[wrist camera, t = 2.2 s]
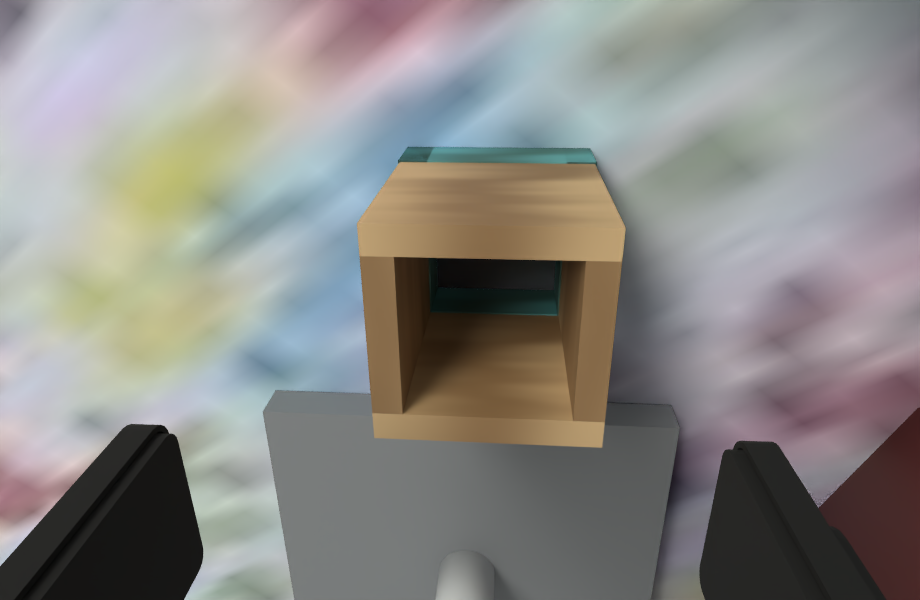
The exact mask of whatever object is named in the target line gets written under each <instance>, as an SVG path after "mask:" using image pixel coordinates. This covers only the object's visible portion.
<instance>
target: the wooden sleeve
mask: <svg viewBox="0 0 920 600" xmlns="http://www.w3.org/2000/svg"><path fill="white" fill-rule="evenodd" d="M596 165H597V162H596V160H595V158H594V156H593V154H592V152H591V150H590V148H473V147H408V148H407V149H406V150H405V152H404V153H403V155H402V156H401V157H400V159H399V160H398V166H397V167H396V168H395V170H394V171H393V173H392V174H391V175H390V177H389V178H388V180H387V181H386V183H385V184H384V185H383V187H382V188H381V190H380V191H379V193H378V194H377V195H376V197H375V198H374V200H373V201H372V203H371V204H370V205H369V207H368V208H367V210H366V211H365V213H364V214H363V215H362V217H361V218H360V220H359V221H358V223H357V230H358V242H359V255H360V267H361V279H362V292H363V304H364V317H365V329H366V341H367V354H368V366H369V379H370V391H371V404H372V416H373V428H374V438H385V439H408V440H432V441H456V442H479V443H503V444H527V445H550V446H574V447H598V448H602V443H603V434H604V425H605V415H606V406H607V397H608V388H609V378H610V369H611V360H612V351H613V341H614V332H615V323H616V313H617V304H618V295H619V286H620V276H621V267H622V258H623V248H624V239H625V230H626V227H625V225H624V223H623V221H622V219H621V217H620V215H619V213H618V211H617V209H616V207H615V205H614V203H613V200H612V198H611V196H610V194H609V192H608V190H607V188H606V186H605V184H604V182H603V180H602V178H601V176H600V174H599V171H598V169H597V167H596ZM437 258H469V259H516V260H556V264H555V281H554V290H523V289H482V288H441V287H438V275H437Z"/></svg>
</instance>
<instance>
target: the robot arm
mask: <svg viewBox="0 0 920 600" xmlns="http://www.w3.org/2000/svg"><path fill="white" fill-rule="evenodd" d="M202 560H203V545H202V541H201V537H200V533H199V528H198V524H197V520H196V516H195V511H194V507H193V503H192V499H191V494H190V490H189V486H188V482H187V478H186V473H185V469H184V465H183V461H182V456H181V452H180V448H179V444H178V440H177V437H176V436H175V435H174V434H169V432H168V430H167V429H166V427H165V426H162V425H143V424H130V425H127V426H126V427H124V428H123V429H122V430H121V431H120V432H119V433H118V435H117V436H116V437H115V438H114V439H113V440H112V441H111V442H110V444H109V445H108V446H107V447H106V448H105V449H104V450H103V451H102V453H101V454H100V455H99V456H98V457H97V458H96V459H95V460H94V462H93V463H92V464H91V465H90V466H89V467H88V468H87V469H86V471H85V472H84V473H83V474H82V475H81V476H80V477H79V478H78V480H77V481H76V482H75V483H74V484H73V485H72V486H71V487H70V489H69V490H68V491H67V492H66V493H65V494H64V495H63V496H62V498H61V499H60V500H59V501H58V502H57V503H56V504H55V505H54V507H53V508H52V509H51V510H50V511H49V512H48V513H47V514H46V516H45V517H44V518H43V519H42V520H41V521H40V522H39V523H38V525H37V526H36V527H35V528H34V529H33V530H32V531H31V532H30V534H29V535H28V536H27V537H26V538H25V539H24V540H23V541H22V543H21V544H20V545H19V546H18V547H17V548H16V549H15V550H14V552H13V553H12V554H11V555H10V556H9V557H8V558H7V559H6V561H5V562H4V563H3V564H2V565H1V566H0V600H184V598H185V597H186V595H187V593H188V591H189V589H190V587H191V585H192V583H193V581H194V580H195V578H196V576H197V574H198V572H199V570H200V567H201V564H202ZM700 584H701V588H702V592H703V595H704V598H705V600H886V598H885V597H884V595H883V594H882V592H881V590H880V589H879V587H878V586H877V584H876V583H875V581H874V580H873V578H872V577H871V575H870V574H869V572H868V571H867V569H866V567H865V566H864V564H863V563H862V561H861V560H860V558H859V557H858V555H857V554H856V552H855V551H854V549H853V548H852V546H851V544H850V543H849V541H848V540H847V538H846V537H845V536H844V535H843V534H842V532H841V531H840V530H838V529H837V528H835V527H833V526H829V524H828V523H827V521H826V520H825V518H824V517H823V515H822V513H821V512H820V510H819V509H818V507H817V506H816V504H815V502H814V501H813V499H812V498H811V496H810V495H809V493H808V491H807V490H806V488H805V487H804V485H803V484H802V482H801V480H800V479H799V477H798V476H797V474H796V472H795V471H794V469H793V468H792V466H791V465H790V463H789V461H788V460H787V458H786V457H785V455H784V454H783V452H782V450H781V449H780V447H779V446H778V445H777V444H776V443H774V442H757V441H739V442H737V443H736V444H735V446H734V449H733V450H725V451H724V453H723V456H722V461H721V466H720V470H719V475H718V480H717V485H716V490H715V495H714V500H713V505H712V510H711V515H710V519H709V524H708V529H707V534H706V539H705V544H704V549H703V554H702V559H701V564H700Z"/></svg>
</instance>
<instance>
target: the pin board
mask: <svg viewBox="0 0 920 600" xmlns="http://www.w3.org/2000/svg"><path fill="white" fill-rule="evenodd" d="M263 416H264V422H265V428H266V433H267V439H268V445H269V451H270V457H271V463H272V469H273V475H274V481H275V487H276V493H277V499H278V505H279V511H280V517H281V522H282V528H283V534H284V540H285V546H286V552H287V558H288V564H289V570H290V576H291V582H292V588H293V594H294V600H651V595H652V589H653V583H654V577H655V572H656V566H657V560H658V554H659V548H660V542H661V536H662V530H663V524H664V518H665V513H666V507H667V501H668V495H669V489H670V483H671V477H672V471H673V465H674V459H675V454H676V448H677V442H678V436H679V430H680V427H679V425H678V422H677V420H676V417H675V414H674V412H673V409H672V407H671V405H653V404H626V403H607V406H606V415H605V425H604V434H603V443H602V448H598V447H574V446H550V445H527V444H503V443H479V442H456V441H432V440H408V439H385V438H374V428H373V416H372V404H371V394H357V393H330V392H303V391H275V393H274V394H273V396H272V397H271V399H270V401H269V402H268V404H267V406H266V407H265V409H264V411H263Z"/></svg>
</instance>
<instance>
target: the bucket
mask: <svg viewBox="0 0 920 600" xmlns="http://www.w3.org/2000/svg"><path fill="white" fill-rule="evenodd" d="M818 509H819V510H820V512H821V513H822V515H823V517H824V518H825V520H826V521H827V523H828V524H829V526H833V527H835V528H837V529H838V530H840V531H841V532H842V534H843V535H844V536H845V537H846V538H847V540H848V541H849V543H850V544H851V546H852V548H853V549H854V551H855V552H856V554H857V555H858V557H859V558H860V560H861V561H862V563H863V564H864V566H865V567H866V569H867V571H868V572H869V574H870V575H871V577H872V578H873V580H874V581H875V583H876V584H877V586H878V587H879V589H880V590H881V592H882V594H883V595H884V597H885V598H886V600H920V408H918V409H917V410H916V411H915V412H914V413H913V414H912V415H911V416H910V417H909V418H908V419H907V420H906V421H905V422H904V423H903V424H902V425H901V426H900V427H899V428H898V429H897V430H896V431H895V432H894V433H893V434H892V435H891V436H890V437H889V438H888V439H887V440H886V441H885V442H884V443H883V444H882V445H881V446H880V447H879V448H878V449H877V450H876V451H875V452H874V453H873V454H872V455H871V456H870V457H869V458H868V459H867V460H866V461H865V462H864V463H863V464H862V465H861V466H860V467H859V468H858V469H857V470H856V471H855V472H854V473H853V474H852V475H851V476H850V477H849V478H848V479H847V480H846V481H845V482H844V483H843V484H842V485H841V486H840V487H839V488H838V489H837V490H836V491H835V492H834V493H833V494H832V495H831V496H830V497H829V498H828V499H827V500H826V501H825V502H824V503H823V504H822V505H821V506H820V507H819V508H818Z"/></svg>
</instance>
